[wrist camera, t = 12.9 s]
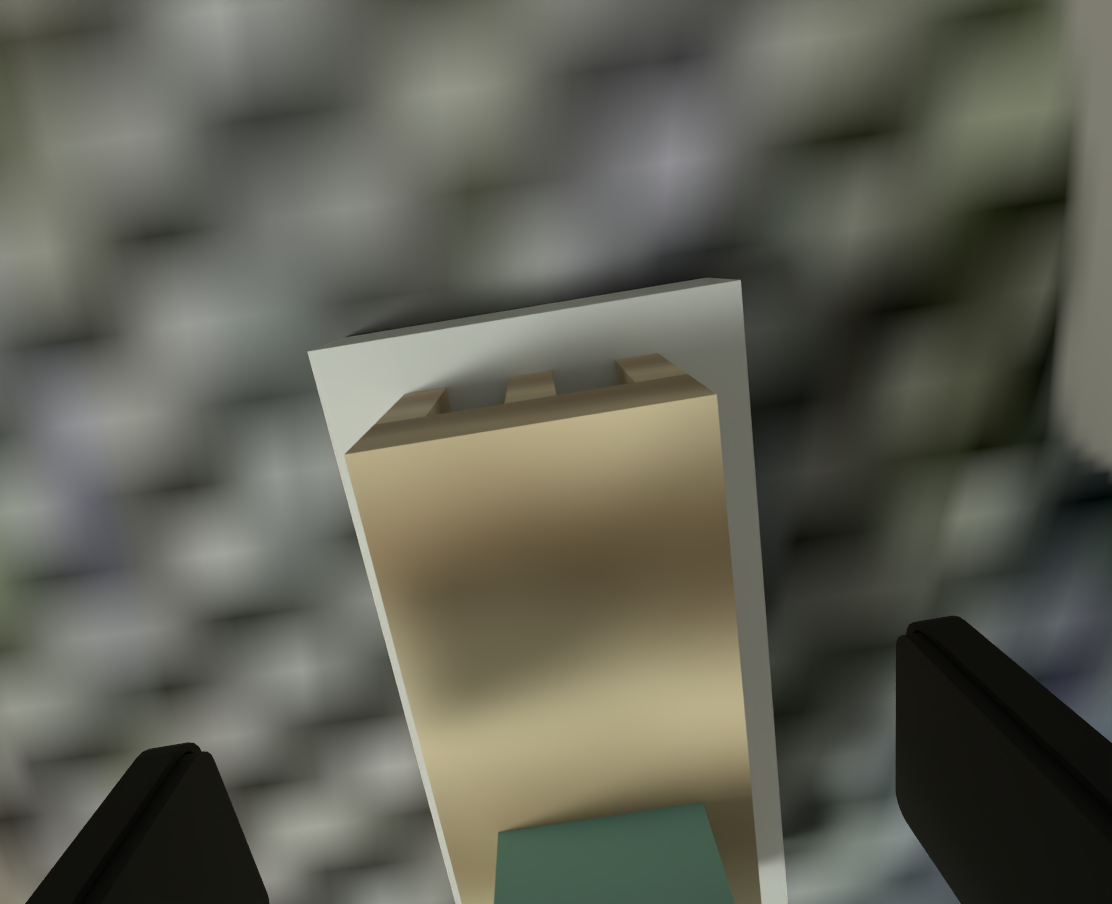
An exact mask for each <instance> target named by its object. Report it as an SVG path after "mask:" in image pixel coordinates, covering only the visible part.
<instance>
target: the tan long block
mask: <svg viewBox="0 0 1112 904" xmlns="http://www.w3.org/2000/svg"><path fill="white" fill-rule="evenodd" d="M615 361H616V369H617V376H618V384H619V385H616V386H610V387H604V388H598V389H591V390H585V391H579V392H573V393H567V394H561V395H556V390H555V385H554V379H553V374H552V370H551V371H545V372H539V373H532V374H526V375H520V376H514V377H510V378H509V382H508V387H507V392H506V397H505V402H504V404H499V405H493V406H487V407H480V408H474V409H468V410H462V411H456V412H451V408H450V403H449V398H448V393H447V388H440V389H434V390H428V391H422V392H416V393H409V394H404V395H403V396H402V397H401V398H400V399H399V400H398V401H397V402H396V403H395V404H394V405H393V406H392V407H391V408H390V409H389V410H388V411H387V412H386V413H385V414H384V415H383V416H382V417H381V418H380V419H379V420H378V421H377V422H376V423H375V424H374V425H373V426H372V427H371V428H370V429H369V430H368V431H367V432H366V433H365V434H364V435H363V436H362V437H361V438H360V439H359V440H358V441H357V442H356V443H355V444H354V445H353V446H352V447H351V448H350V449H349V450H348V451H347V452H346V453H345V454H344V457H345V460H346V464H347V468H348V472H349V476H350V479H351V483H352V487H353V491H354V495H355V498H356V502H357V506H358V510H359V514H360V518H361V521H362V525H363V529H364V533H365V537H366V540H367V544H368V548H369V552H370V556H371V559H372V563H373V567H374V571H375V575H376V579H377V582H378V586H379V590H380V594H381V598H382V601H383V605H384V609H385V613H386V617H387V620H388V624H389V628H390V632H391V636H392V640H393V643H394V647H395V651H396V655H397V659H398V662H399V666H400V670H401V674H402V678H403V681H404V685H405V689H406V693H407V697H408V701H409V704H410V708H411V712H412V716H413V720H414V723H415V727H416V731H417V735H418V739H419V742H420V746H421V750H422V754H423V758H424V762H425V765H426V769H427V773H428V777H429V781H430V784H431V788H432V792H433V796H434V800H435V803H436V807H437V811H438V815H439V819H440V823H441V826H442V830H443V834H444V838H445V842H446V845H447V849H448V853H449V857H450V861H451V864H452V868H453V872H454V876H455V880H456V884H457V887H458V891H459V895H460V899H461V903H462V904H494V892H495V876H496V859H497V843H498V832H504V831H511V830H518V829H525V828H531V827H538V826H545V825H552V824H558V823H565V822H572V821H579V820H586V819H592V818H599V817H606V816H613V815H619V814H626V813H633V812H640V811H646V810H653V809H660V808H667V807H674V806H680V805H687V804H694V803H701V802H703V805H704V808H705V811H706V814H707V817H708V820H709V824H710V827H711V830H712V833H713V836H714V839H715V842H716V846H717V849H718V852H719V855H720V858H721V861H722V865H723V868H724V871H725V874H726V877H727V880H728V883H729V887H730V890H731V893H732V896H733V899H734V902H735V904H762V902H761V891H760V880H759V868H758V857H757V846H756V834H755V823H754V812H753V800H752V789H751V777H750V766H749V755H748V743H747V732H746V721H745V709H744V698H743V687H742V675H741V664H740V653H739V641H738V630H737V619H736V607H735V596H734V584H733V573H732V562H731V550H730V539H729V528H728V516H727V505H726V494H725V482H724V471H723V460H722V448H721V437H720V426H719V414H718V403H717V394H716V393H714V392H713V391H711V390H710V389H708V388H707V387H706V386H704V385H703V384H701V383H700V382H698V381H697V380H696V379H694V378H693V377H691V376H690V375H688V374H687V373H686V372H684V371H683V370H681V369H680V368H678V367H677V366H675V365H674V364H673V363H671V362H670V361H668V360H667V359H665V358H664V357H663V356H661V355H660V354H658V353H655V354H649V355H643V356H637V357H631V358H625V359H618V360H615Z"/></svg>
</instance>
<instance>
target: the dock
mask: <svg viewBox="0 0 1112 904" xmlns="http://www.w3.org/2000/svg"><path fill="white" fill-rule="evenodd" d="M655 353H658V354H660V355H661V356H663V357H664V358H665V359H667V360H668V361H670V362H671V363H673V364H674V365H675V366H677V367H678V368H680V369H681V370H683V371H684V372H686V373H687V374H688V375H690V376H691V377H693V378H694V379H696V380H697V381H698V382H700V383H701V384H703V385H704V386H706V387H707V388H708V389H710V390H711V391H713V392H714V393H716V394H717V403H718V414H719V426H720V437H721V448H722V460H723V471H724V482H725V494H726V505H727V516H728V528H729V539H730V550H731V562H732V573H733V584H734V596H735V607H736V619H737V630H738V641H739V653H740V664H741V675H742V687H743V698H744V709H745V721H746V732H747V743H748V755H749V766H750V777H751V789H752V800H753V812H754V823H755V834H756V846H757V857H758V868H759V880H760V891H761V902H762V904H788V900H787V887H786V874H785V861H784V847H783V834H782V821H781V807H780V794H779V781H778V768H777V754H776V741H775V728H774V714H773V701H772V688H771V675H770V661H769V648H768V635H767V622H766V608H765V595H764V582H763V568H762V555H761V542H760V529H759V515H758V502H757V489H756V475H755V462H754V449H753V436H752V422H751V409H750V396H749V382H748V369H747V356H746V343H745V329H744V316H743V303H742V289H741V280H734V279H720V278H701V279H695V280H689V281H683V282H677V283H671V284H665V285H659V286H653V287H647V288H641V289H635V290H629V291H622V292H616V293H610V294H604V295H598V296H592V297H586V298H580V299H574V300H568V301H562V302H556V303H550V304H544V305H538V306H532V307H526V308H520V309H514V310H508V311H502V312H496V313H490V314H484V315H478V316H472V317H466V318H459V319H453V320H447V321H441V322H435V323H429V324H423V325H417V326H411V327H405V328H399V329H393V330H387V331H381V332H375V333H369V334H363V335H357V336H351V337H345V338H342V339H339V340H337V341H334V342H331V343H329V344H326V345H324V346H321V347H318V348H316V349H313V350H311V351H308V355H309V359H310V362H311V366H312V370H313V374H314V377H315V381H316V385H317V389H318V392H319V396H320V400H321V403H322V407H323V411H324V415H325V418H326V422H327V426H328V430H329V433H330V437H331V441H332V444H333V448H334V452H335V456H336V459H337V463H338V467H339V471H340V474H341V478H342V482H343V485H344V489H345V493H346V497H347V500H348V504H349V508H350V512H351V515H352V519H353V523H354V526H355V530H356V534H357V538H358V541H359V545H360V549H361V553H362V556H363V560H364V564H365V567H366V571H367V575H368V579H369V582H370V586H371V590H372V594H373V597H374V601H375V605H376V609H377V612H378V616H379V620H380V623H381V627H382V631H383V635H384V638H385V642H386V646H387V650H388V653H389V657H390V661H391V664H392V668H393V672H394V676H395V679H396V683H397V687H398V691H399V694H400V698H401V702H402V705H403V709H404V713H405V717H406V720H407V724H408V728H409V732H410V735H411V739H412V743H413V746H414V750H415V754H416V758H417V761H418V765H419V769H420V773H421V776H422V780H423V784H424V787H425V791H426V795H427V799H428V802H429V806H430V810H431V814H432V817H433V821H434V825H435V828H436V832H437V836H438V840H439V843H440V847H441V851H442V855H443V858H444V862H445V866H446V869H447V873H448V877H449V881H450V884H451V888H452V892H453V896H454V899H455V903H456V904H462V903H461V899H460V895H459V891H458V887H457V884H456V880H455V876H454V872H453V868H452V864H451V861H450V857H449V853H448V849H447V845H446V842H445V838H444V834H443V830H442V826H441V823H440V819H439V815H438V811H437V807H436V803H435V800H434V796H433V792H432V788H431V784H430V781H429V777H428V773H427V769H426V765H425V762H424V758H423V754H422V750H421V746H420V742H419V739H418V735H417V731H416V727H415V723H414V720H413V716H412V712H411V708H410V704H409V701H408V697H407V693H406V689H405V685H404V681H403V678H402V674H401V670H400V666H399V662H398V659H397V655H396V651H395V647H394V643H393V640H392V636H391V632H390V628H389V624H388V620H387V617H386V613H385V609H384V605H383V601H382V598H381V594H380V590H379V586H378V582H377V579H376V575H375V571H374V567H373V563H372V559H371V556H370V552H369V548H368V544H367V540H366V537H365V533H364V529H363V525H362V521H361V518H360V514H359V510H358V506H357V502H356V498H355V495H354V491H353V487H352V483H351V479H350V476H349V472H348V468H347V464H346V460H345V457H344V454H345V453H346V452H347V451H348V450H349V449H350V448H351V447H352V446H353V445H354V444H355V443H356V442H357V441H358V440H359V439H360V438H361V437H362V436H363V435H364V434H365V433H366V432H367V431H368V430H369V429H370V428H371V427H372V426H373V425H374V424H375V423H376V422H377V421H378V420H379V419H380V418H381V417H382V416H383V415H384V414H385V413H386V412H387V411H388V410H389V409H390V408H391V407H392V406H393V405H394V404H395V403H396V402H397V401H398V400H399V399H400V398H401V397H402V396H403V395H404V394H409V393H416V392H422V391H428V390H434V389H440V388H447V393H448V398H449V403H450V408H451V412H456V411H462V410H468V409H474V408H480V407H487V406H493V405H499V404H504V402H505V397H506V392H507V387H508V382H509V378H510V377H514V376H520V375H526V374H532V373H539V372H545V371H551V370H552V374H553V379H554V385H555V390H556V395H561V394H567V393H573V392H579V391H585V390H591V389H598V388H604V387H610V386H616V385H619V384H618V376H617V369H616V361H615V360H618V359H625V358H631V357H637V356H643V355H649V354H655Z"/></svg>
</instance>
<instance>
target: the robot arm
mask: <svg viewBox="0 0 1112 904" xmlns="http://www.w3.org/2000/svg"><path fill="white" fill-rule="evenodd" d="M896 797H897V801H898V804H899V807H900V810H901V812H902V815H903V817H904V819H905V820H906V822H907V824H908V825H909V827H910V828H911V830H912V831H913V833H914V834H915V836H916V837H917V839H918V840H919V842H920V843H921V845H922V846H923V848H924V849H925V851H926V852H927V854H928V855H929V857H930V858H931V860H932V861H933V862H934V864H935V865H936V867H937V868H938V870H939V871H940V873H941V874H942V876H943V877H944V879H945V880H946V882H947V883H948V885H949V886H950V888H951V889H952V891H953V892H954V894H955V895H956V897H957V898H958V900H959V901H960V903H961V904H1112V743H1111V742H1110V741H1108V740H1107V739H1106V738H1105V737H1104V736H1102V735H1101V734H1100V733H1099V732H1098V731H1097V730H1095V729H1094V728H1093V727H1092V726H1091V725H1089V724H1088V723H1087V722H1086V721H1085V720H1083V719H1082V718H1081V717H1080V716H1079V715H1077V714H1076V713H1075V712H1074V711H1073V710H1071V709H1070V708H1069V707H1068V706H1067V705H1065V704H1064V703H1063V702H1062V701H1061V700H1059V699H1058V698H1057V697H1056V696H1055V695H1053V694H1052V693H1051V692H1050V691H1049V690H1047V689H1046V688H1045V687H1044V686H1043V685H1041V684H1040V683H1039V682H1038V681H1037V680H1035V679H1034V678H1033V677H1032V676H1031V675H1030V674H1028V673H1027V672H1026V671H1025V670H1024V669H1022V668H1021V667H1020V666H1019V665H1018V664H1016V663H1015V662H1014V661H1013V660H1012V659H1010V658H1009V657H1008V656H1007V655H1006V654H1004V653H1003V652H1002V651H1001V650H1000V649H998V648H997V647H996V646H995V645H994V644H992V643H991V642H990V641H989V640H988V639H986V638H985V637H984V636H983V635H982V634H980V633H979V632H978V631H977V630H976V629H974V628H973V627H972V626H971V625H970V624H968V623H967V622H966V621H965V620H963V619H962V618H960V617H958V616H948V617H942V618H936V619H930V620H924V621H918V622H913V623H911V624H909V626H908V628H907V633H906V635H903V636H900V637H899V638H898V640H897V644H896ZM25 904H269V898H268V894H267V891H266V889H265V886H264V884H263V881H262V879H261V876H260V874H259V871H258V869H257V866H256V864H255V861H254V859H253V856H252V854H251V851H250V849H249V846H248V844H247V841H246V839H245V836H244V834H243V831H242V829H241V826H240V824H239V821H238V818H237V816H236V813H235V811H234V808H233V806H232V803H231V801H230V798H229V796H228V793H227V791H226V788H225V786H224V783H223V781H222V778H221V776H220V773H219V771H218V768H217V766H216V763H215V761H214V759H213V757H212V755H211V754H210V753H208V752H202V751H201V750H200V748H199V746H197V745H196V744H195V743H182V744H176V745H170V746H164V747H158V748H152V749H148V750H146V751H144V752H142V753H141V754H140V755H139V756H138V757H137V758H136V759H135V761H134V762H133V763H132V765H131V766H130V767H129V768H128V770H127V771H126V772H125V774H124V775H123V776H122V778H121V779H120V780H119V782H118V783H117V784H116V786H115V787H114V788H113V789H112V791H111V792H110V793H109V795H108V796H107V797H106V799H105V800H104V801H103V803H102V804H101V805H100V806H99V808H98V809H97V810H96V812H95V813H94V814H93V816H92V817H91V818H90V820H89V821H88V822H87V823H86V825H85V826H84V827H83V829H82V830H81V831H80V833H79V834H78V835H77V837H76V838H75V839H74V841H73V842H72V843H71V844H70V846H69V847H68V848H67V850H66V851H65V852H64V854H63V855H62V856H61V858H60V859H59V860H58V861H57V863H56V864H55V865H54V867H53V868H52V869H51V871H50V872H49V873H48V875H47V876H46V877H45V879H44V880H43V881H42V882H41V884H40V885H39V886H38V888H37V889H36V890H35V892H34V893H33V894H32V896H31V897H30V898H29V899H28V901H27V902H26V903H25Z"/></svg>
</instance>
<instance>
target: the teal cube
mask: <svg viewBox="0 0 1112 904" xmlns="http://www.w3.org/2000/svg"><path fill="white" fill-rule="evenodd" d="M494 904H735V902H734V899H733V896H732V893H731V890H730V887H729V883H728V880H727V877H726V874H725V871H724V868H723V865H722V861H721V858H720V855H719V852H718V849H717V846H716V842H715V839H714V836H713V833H712V830H711V827H710V824H709V820H708V817H707V814H706V811H705V808H704V805H703V802H701V803H694V804H687V805H680V806H674V807H667V808H660V809H653V810H646V811H640V812H633V813H626V814H619V815H613V816H606V817H599V818H592V819H586V820H579V821H572V822H565V823H558V824H552V825H545V826H538V827H531V828H525V829H518V830H511V831H504V832H498V843H497V859H496V876H495V892H494Z"/></svg>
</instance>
